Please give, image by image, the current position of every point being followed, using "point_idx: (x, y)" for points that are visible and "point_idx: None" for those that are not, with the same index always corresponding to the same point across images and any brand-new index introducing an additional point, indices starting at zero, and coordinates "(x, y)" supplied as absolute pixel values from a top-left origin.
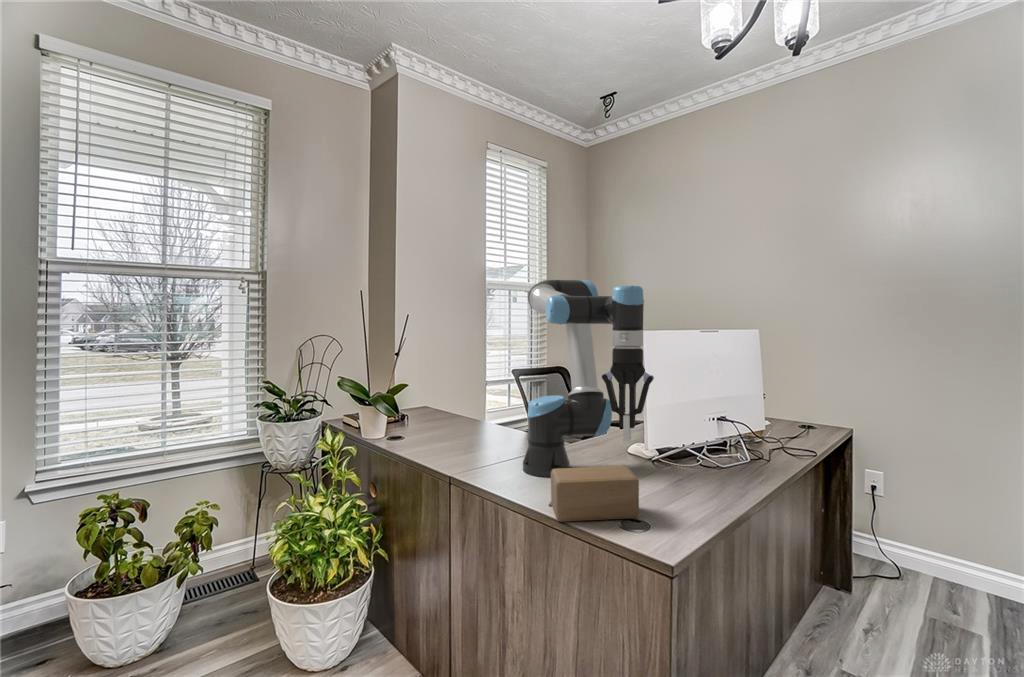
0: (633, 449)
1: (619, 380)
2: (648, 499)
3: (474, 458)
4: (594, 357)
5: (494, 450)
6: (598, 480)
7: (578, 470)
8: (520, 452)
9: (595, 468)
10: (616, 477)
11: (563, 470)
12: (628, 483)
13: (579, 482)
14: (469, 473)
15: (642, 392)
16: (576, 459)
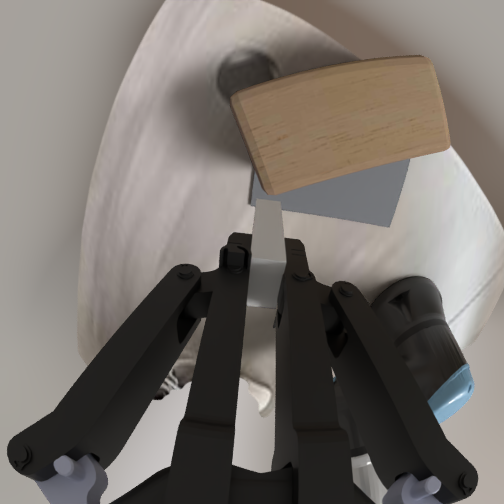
0: (262, 397)
1: (346, 497)
2: (226, 213)
3: (479, 317)
4: None
5: None
6: (340, 68)
7: (397, 132)
8: None
9: (355, 151)
10: (292, 89)
11: (429, 130)
12: (257, 84)
13: (384, 59)
14: (497, 263)
15: (118, 375)
16: None
